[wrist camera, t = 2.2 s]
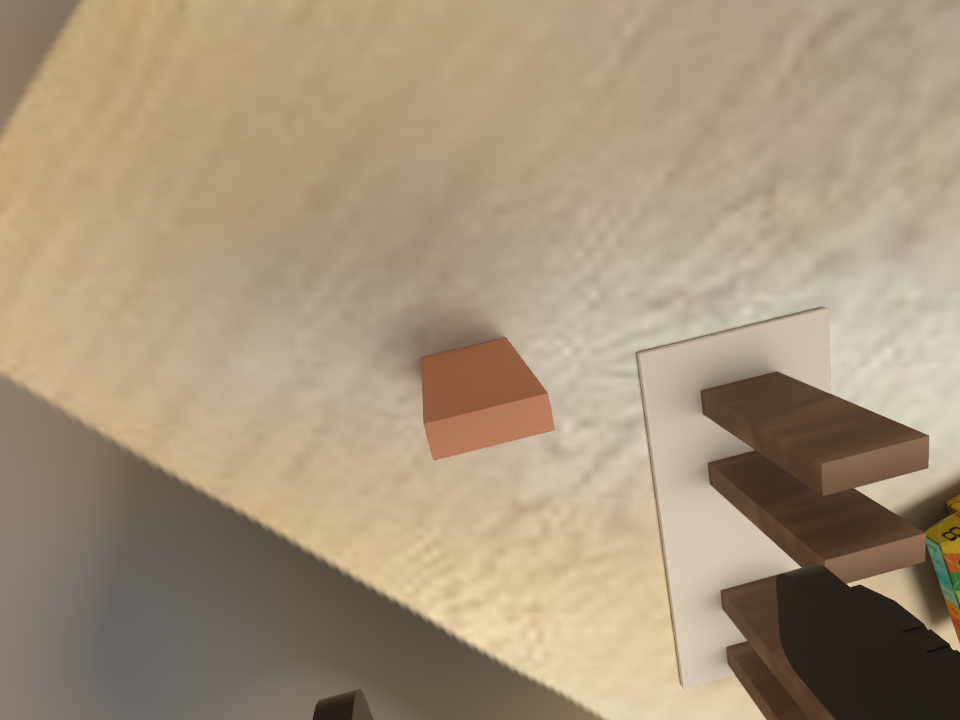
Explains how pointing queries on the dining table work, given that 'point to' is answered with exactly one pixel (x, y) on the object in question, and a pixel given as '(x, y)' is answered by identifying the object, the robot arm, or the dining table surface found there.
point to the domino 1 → (481, 399)
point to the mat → (685, 477)
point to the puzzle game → (948, 558)
